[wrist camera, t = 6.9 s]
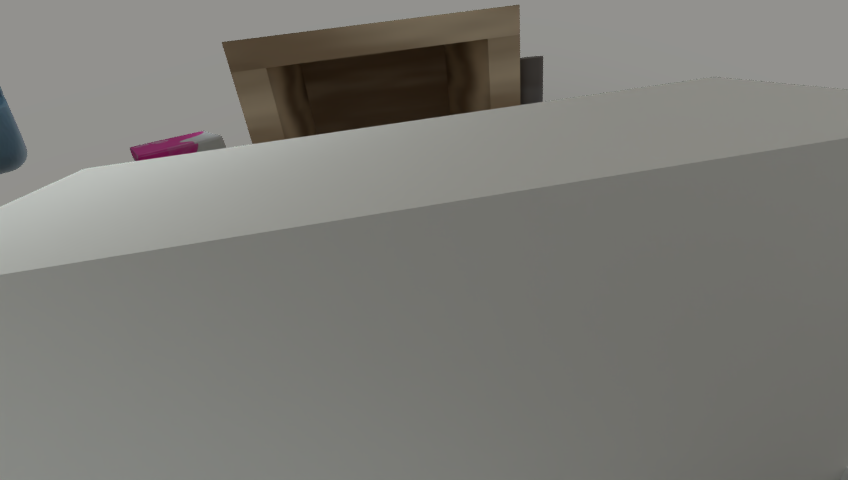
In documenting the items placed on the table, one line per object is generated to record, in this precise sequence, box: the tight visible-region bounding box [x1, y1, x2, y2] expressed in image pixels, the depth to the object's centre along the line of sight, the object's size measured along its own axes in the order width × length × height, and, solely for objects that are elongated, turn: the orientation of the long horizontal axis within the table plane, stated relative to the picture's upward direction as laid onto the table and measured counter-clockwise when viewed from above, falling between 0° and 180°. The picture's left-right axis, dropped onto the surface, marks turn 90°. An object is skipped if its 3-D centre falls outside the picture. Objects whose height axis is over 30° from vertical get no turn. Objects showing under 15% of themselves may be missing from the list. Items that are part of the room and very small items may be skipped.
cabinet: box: [222, 5, 543, 144], centre depth 23 cm, size 21×14×17 cm
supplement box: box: [130, 131, 226, 161], centre depth 33 cm, size 6×6×12 cm
